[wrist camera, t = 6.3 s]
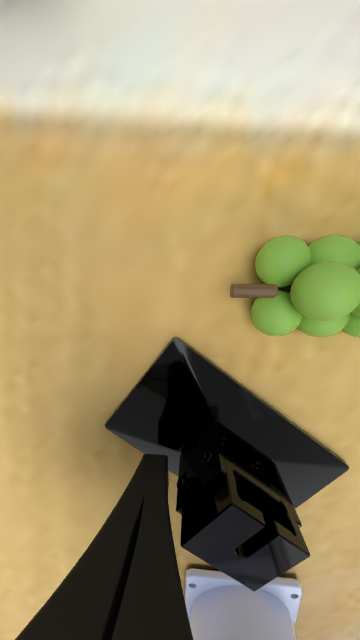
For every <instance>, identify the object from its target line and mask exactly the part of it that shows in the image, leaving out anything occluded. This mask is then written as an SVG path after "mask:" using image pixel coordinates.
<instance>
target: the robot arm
mask: <svg viewBox="0 0 360 640" xmlns="http://www.w3.org/2000/svg"><path fill="white" fill-rule="evenodd" d="M168 486H169V482H168V457H167V456H166V455H159V454H144V455H143V457H142V459H141V461H140V463H139V465H138V467H137V469H136V471H135V473H134V475H133V477H132V479H131V481H130V482H129V484H128V486H127V488H126V489H125V491H124V493H123V494H122V496H121V498H120V500H119V501H118V503H117V505H116V506H115V508H114V509H113V511H112V512H111V514H110V516H109V517H108V519H107V520H106V522H105V523H104V525H103V526H102V528H101V529H100V531H99V532H98V534H97V535H96V537H95V538H94V540H93V541H92V543H91V544H90V545H89V547H88V548H87V550H86V551H85V552H84V554H83V555H82V556H81V558H80V559H79V561H78V562H77V563H76V565H75V566H74V567H73V569H72V570H71V571H70V572H69V574H68V575H67V576H66V578H65V579H64V580H63V582H62V583H61V584H60V586H59V587H58V588H57V589H56V591H55V592H54V593H53V594H52V596H51V597H50V598H49V599H48V601H47V602H46V603H45V604H44V606H43V607H42V608H41V609H40V610H39V612H38V613H37V614H36V615H35V616H34V618H33V619H32V620H31V621H30V622H29V624H28V625H27V626H26V627H25V628H24V630H23V631H22V632H21V633H20V634H19V636H18V637H17V638H16V639H15V640H297V638H296V635H295V631H294V626H295V622H296V617H297V613H298V609H299V605H300V601H301V596H302V592H303V590H302V587H301V584H300V582H299V581H298V580H296V579H293V578H283V577H277V578H275V579H274V580H272V581H270V582H269V583H267V584H266V585H264V586H263V587H261V588H259V589H258V590H256V591H255V592H254V591H252V590H251V589H249V588H247V587H246V586H244V585H243V584H241V583H239V582H238V581H236V580H234V579H233V578H231V577H230V576H228V575H226V574H225V573H223V572H221V571H212V570H202V569H188V570H187V571H186V590H185V600H184V595H183V591H182V586H181V581H180V576H179V570H178V565H177V560H176V554H175V548H174V542H173V536H172V529H171V522H170V515H169V505H168Z"/></svg>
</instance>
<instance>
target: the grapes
mask: <svg viewBox="0 0 360 640" xmlns="http://www.w3.org/2000/svg"><path fill="white" fill-rule="evenodd" d="M255 269H256V273H257V275H258V277H259V278H260V279H261V280H262V281H263V282H264V283H265V284H231V286H230V296H231V297H232V298H257V299H256V300H255V302H254V303H253V305H252V309H251V318H252V321H253V323H254V325H255V326H256V328H257V329H258V330H260V331H261V332H263V333H265V334H267V335H271V336H283V335H286V334H289V333H291V332H292V331H294V330H295V329H296V328H298V329H299V330H300V331H302V332H303V333H305V334H307V335H310V336H315V337H326V336H331V335H334V334H336V333H338V332H339V331H341V330H342V331H343V332H345V333H347V334H349V335H351V336H355V337H360V242H359V243H357V242H356V241H354V240H353V239H351V238H349V237H346V236H342V235H330V236H325V237H322V238H320V239H318V240H316V241H314V242H313V243H311V244H310V245H309V246H307V244H306V243H305V242H304V241H303V240H301V239H299V238H297V237H294V236H280V237H277V238H274V239H272V240H270V241H269V242H267V243H266V244H265V245H264V246H263V247H262V248H261V250H260V251H259V253H258V255H257V257H256V262H255ZM290 285H292V286H291V291H290V292H287V291H284V290H278V287H287V286H290Z"/></svg>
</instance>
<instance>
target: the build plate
mask: <svg viewBox="0 0 360 640" xmlns="http://www.w3.org/2000/svg"><path fill="white" fill-rule="evenodd" d="M105 427H106V429H108V430H109V431H111V432H112V433H114V434H115V435H117V436H118V437H120V438H122V439H123V440H125V441H126V442H128V443H129V444H131V445H132V446H134V447H135V448H137V449H138V450H140V451H141V452H143V453H144V454H159V455H166V456H167V457H168V469H169V470H170V471H172V472H173V473H175V474H176V475H178V482H177V488H178V490H177V505H176V511H177V512H178V513H180V514H182V523H181V547H183V548H184V549H186V550H187V551H189V552H191V553H192V554H194V555H196V556H197V557H199V558H200V559H202V560H204V561H205V562H207V563H208V564H210V565H212V566H213V567H215V568H217V569H218V570H220V571H221V572H223V573H225V574H226V575H228V576H230V577H231V578H233V579H234V580H236V581H238V582H239V583H241V584H243V585H244V586H246V587H247V588H249V589H251V590H252V591H254V592H255V591H256V590H258V589H259V588H261V587H263V586H264V585H266V584H267V583H269V582H270V581H272V580H274V579H275V578H277V577H278V576H280V575H281V574H283V573H284V572H286V571H288V570H289V569H291V568H292V567H294V566H295V565H297V564H298V563H300V562H302V561H303V560H305V559H306V558H308V557H309V556H310V553H309V551H308V548H307V546H306V543H305V541H304V539H303V536H302V534H301V532H300V529H299V528H300V527H301V522H300V520H299V517H298V515H297V513H296V510H295V508H297V507H298V506H299V505H301V504H302V503H304V502H305V501H306V500H308V499H309V498H310V497H312V496H313V495H314V494H316V493H317V492H319V491H320V490H321V489H323V488H324V487H325V486H327V485H328V484H329V483H331V482H332V481H334V480H335V479H336V478H338V477H339V476H340V475H342V474H343V473H345V472H346V471H347V470H348V469H349V466H348V465H347V464H346V462H345V461H344V460H343V459H341V458H340V457H339V456H337V455H336V454H334V453H333V452H332V451H330V450H329V449H328V448H326V447H325V446H324V445H322V444H321V443H320V442H318V441H317V440H316V439H314V438H313V437H312V436H310V435H309V434H308V433H306V432H305V431H304V430H302V429H301V428H299V427H298V426H297V425H295V424H294V423H293V422H291V421H290V420H289V419H287V418H286V417H285V416H283V415H282V414H281V413H279V412H278V411H277V410H275V409H274V408H273V407H271V406H270V405H269V404H267V403H266V402H264V401H263V400H262V399H260V398H259V397H258V396H256V395H255V394H254V393H252V392H251V391H250V390H248V389H247V388H246V387H244V386H243V385H242V384H240V383H239V382H238V381H236V380H235V379H234V378H232V377H231V376H229V375H228V374H227V373H225V372H224V371H223V370H221V369H220V368H219V367H217V366H216V365H215V364H213V363H212V362H211V361H209V360H208V359H207V358H205V357H204V356H203V355H201V354H200V353H199V352H197V351H196V350H194V349H193V348H192V347H190V346H189V345H188V344H186V343H185V342H184V341H182V340H181V339H180V338H178V337H175V338H173V339H172V340H171V341H170V343H169V344H168V345H167V346H166V348H165V349H164V350H163V351H162V353H161V354H160V355H159V356H158V358H157V359H156V360H155V361H154V363H153V364H152V365H151V366H150V368H149V369H148V370H147V371H146V373H145V374H144V375H143V376H142V378H141V379H140V380H139V381H138V383H137V384H136V385H135V386H134V388H133V389H132V390H131V391H130V393H129V394H128V395H127V396H126V398H125V399H124V400H123V401H122V403H121V404H120V405H119V406H118V408H117V409H116V410H115V411H114V413H113V414H112V415H111V416H110V418H109V419H108V420H107V422H106V424H105Z"/></svg>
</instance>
